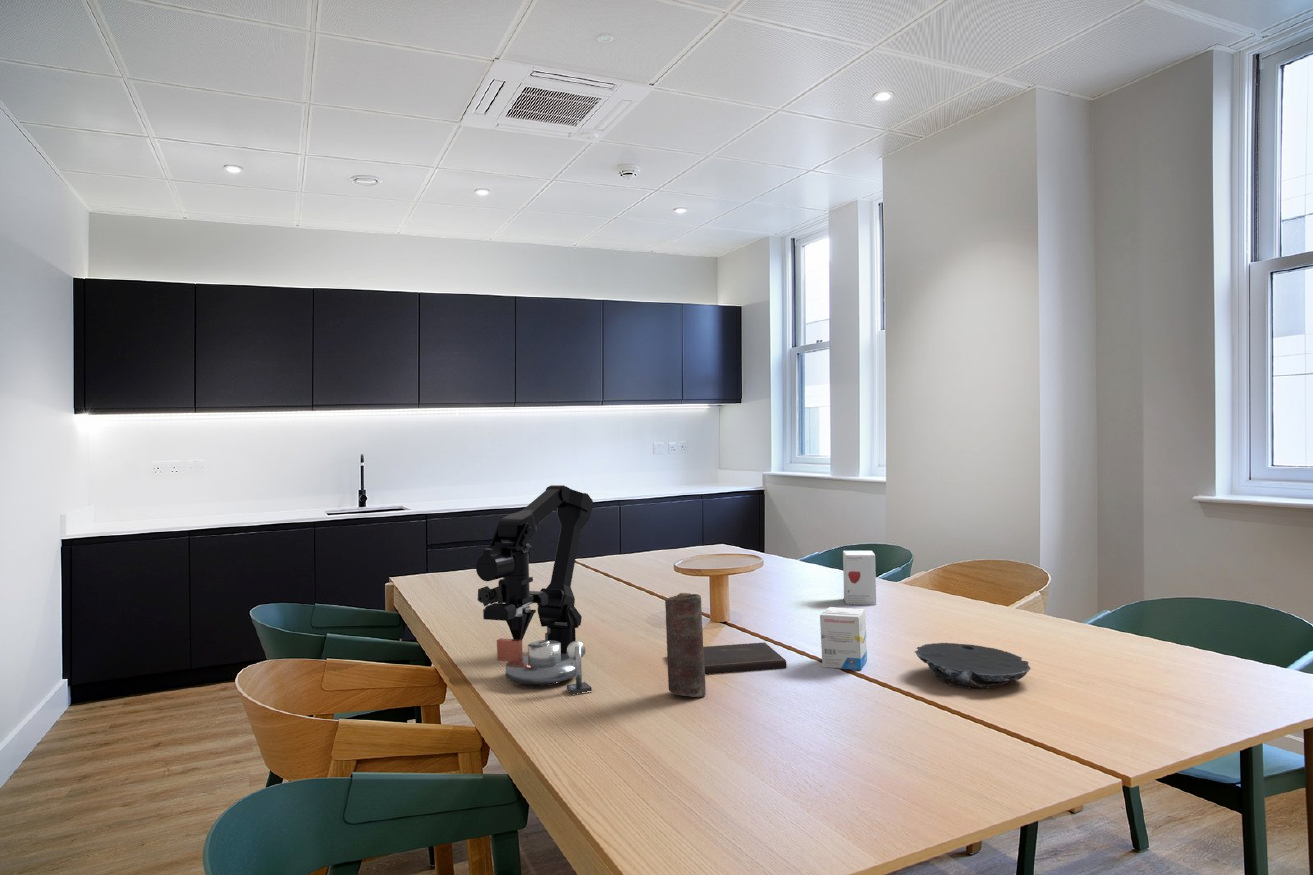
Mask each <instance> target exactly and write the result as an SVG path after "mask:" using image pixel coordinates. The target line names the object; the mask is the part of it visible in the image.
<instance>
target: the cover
mask: <svg viewBox="0 0 1313 875" xmlns="http://www.w3.org/2000/svg"><path fill="white" fill-rule="evenodd" d="M527 655H528V665H529V666H531V667H537V668H545V667H552V666H556V665H558V664H560V663H561V643H560V642H558V641H553V640H545V639H543V640H537V641H533V642H530V643H527Z"/></svg>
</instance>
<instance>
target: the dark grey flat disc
mask: <svg viewBox="0 0 1313 875" xmlns="http://www.w3.org/2000/svg"><path fill="white" fill-rule="evenodd" d="M913 652H914V653H915V654H916V656H917V657H918V659H919V660H920V661H922V662H923V663H925V664H927V665H928V666H927V667H928V669H929V670H930V671H931V672H932V673H933V674H935V676H936V677H937V678H938V679H940V680H939V681H941V682H942V683H944V684H946V685H950V686H954V687H960V688H962V689H963V688H965V689H973V688H974V690H984V691H985V690H988V689H987V688H989V689H991V688H993V687H994V688H999V687H1001V686H1003V685H1007V684H1008V683H1009V682H1016V681H1018V680H1021V679H1022V678H1024V677H1025V676H1026V675H1027V674H1028V672H1029V671H1030V670H1032V668H1031V666H1030V662H1029V661H1027V660H1023V657H1022V656H1019V655H1016V654H1014V653H1012V652H1008V651H1006V650H1003V649H998V648H995V647H989V646H988V647H987V646H982V645H975V644H970V643H969V644H966V643H955V642H949V643H948V642H937V643H935V642H934V643H927V644H923V645H921V646H917V647H916V650H915V651H913Z"/></svg>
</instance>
